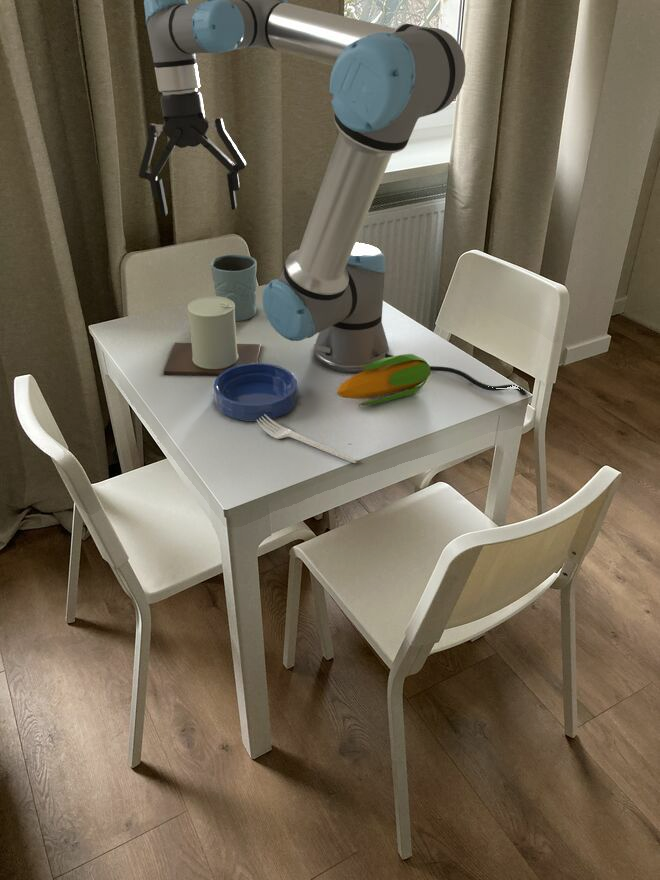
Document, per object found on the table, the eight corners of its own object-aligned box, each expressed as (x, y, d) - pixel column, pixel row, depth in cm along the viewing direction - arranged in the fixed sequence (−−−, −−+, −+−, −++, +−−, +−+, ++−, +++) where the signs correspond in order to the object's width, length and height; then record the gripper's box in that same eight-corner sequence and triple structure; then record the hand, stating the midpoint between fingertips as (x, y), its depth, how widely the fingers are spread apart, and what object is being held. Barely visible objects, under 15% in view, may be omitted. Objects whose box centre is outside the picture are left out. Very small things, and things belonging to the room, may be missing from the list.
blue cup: (231, 326, 164) (228, 275, 157) (205, 311, 170) (200, 261, 163) (267, 313, 170) (266, 263, 163) (241, 299, 176) (238, 250, 169)
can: (235, 370, 147) (231, 314, 140) (188, 369, 147) (182, 313, 140) (240, 347, 155) (237, 294, 148) (196, 346, 155) (191, 293, 148)
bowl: (298, 379, 146) (298, 363, 144) (294, 423, 134) (294, 406, 131) (221, 378, 146) (219, 362, 144) (209, 421, 134) (208, 404, 132)
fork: (350, 469, 123) (351, 460, 122) (255, 429, 132) (254, 421, 131) (361, 459, 125) (361, 450, 124) (266, 421, 134) (266, 412, 133)
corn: (441, 356, 138) (348, 381, 130) (439, 392, 142) (348, 419, 134) (418, 342, 144) (328, 365, 136) (417, 377, 148) (328, 402, 140)
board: (260, 347, 156) (260, 344, 156) (255, 376, 147) (255, 373, 146) (175, 345, 157) (174, 342, 156) (164, 374, 147) (163, 371, 146)
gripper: (249, 84, 138) (264, 201, 149) (116, 96, 139) (139, 212, 149) (247, 87, 132) (262, 209, 142) (107, 100, 132) (132, 221, 142)
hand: (199, 211), depth 146 cm, fingers open, 13 cm apart
